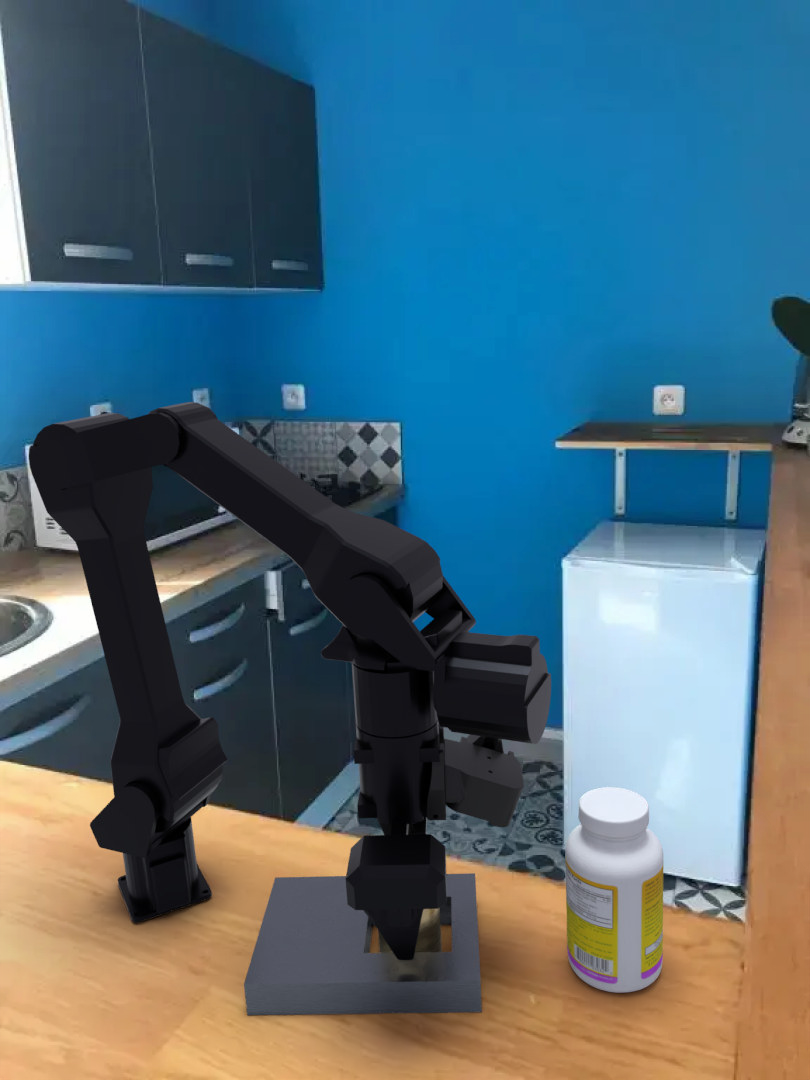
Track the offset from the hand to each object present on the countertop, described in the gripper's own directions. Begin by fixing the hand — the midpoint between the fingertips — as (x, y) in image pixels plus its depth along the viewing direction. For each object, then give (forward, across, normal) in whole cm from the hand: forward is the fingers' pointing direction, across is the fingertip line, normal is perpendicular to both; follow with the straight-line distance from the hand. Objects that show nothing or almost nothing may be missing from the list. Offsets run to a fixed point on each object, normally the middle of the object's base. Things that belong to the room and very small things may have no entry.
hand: (408, 915), depth 68 cm
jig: (+3, 0, +3) cm, 4 cm away
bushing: (+3, 0, 0) cm, 3 cm away
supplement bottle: (+3, -2, -15) cm, 15 cm away
